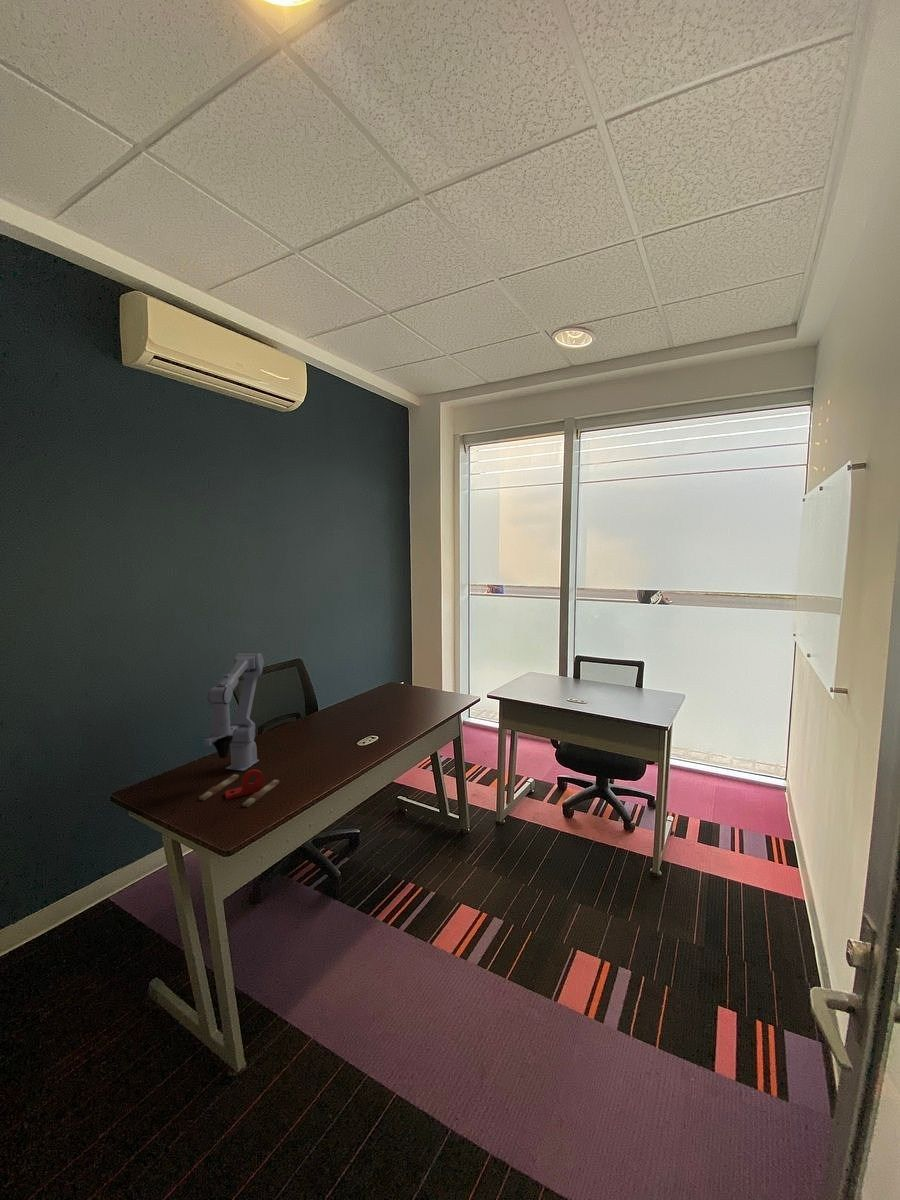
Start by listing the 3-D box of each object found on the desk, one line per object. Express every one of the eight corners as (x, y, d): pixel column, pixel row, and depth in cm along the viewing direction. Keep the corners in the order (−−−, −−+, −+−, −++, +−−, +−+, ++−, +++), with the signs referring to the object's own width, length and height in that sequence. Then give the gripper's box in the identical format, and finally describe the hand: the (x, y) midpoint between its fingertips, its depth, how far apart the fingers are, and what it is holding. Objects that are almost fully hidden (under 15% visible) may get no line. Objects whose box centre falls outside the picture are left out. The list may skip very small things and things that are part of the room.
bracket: (261, 785, 173) (260, 763, 172) (264, 790, 169) (262, 768, 168) (224, 794, 166) (223, 772, 166) (226, 799, 162) (225, 777, 162)
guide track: (233, 776, 179) (233, 773, 179) (279, 782, 174) (279, 779, 174) (198, 799, 163) (198, 796, 162) (248, 807, 157) (248, 803, 157)
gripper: (215, 728, 164) (218, 767, 166) (244, 714, 178) (246, 750, 180) (198, 726, 166) (200, 765, 167) (228, 713, 180) (230, 748, 181)
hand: (223, 757), depth 174 cm, fingers closed
